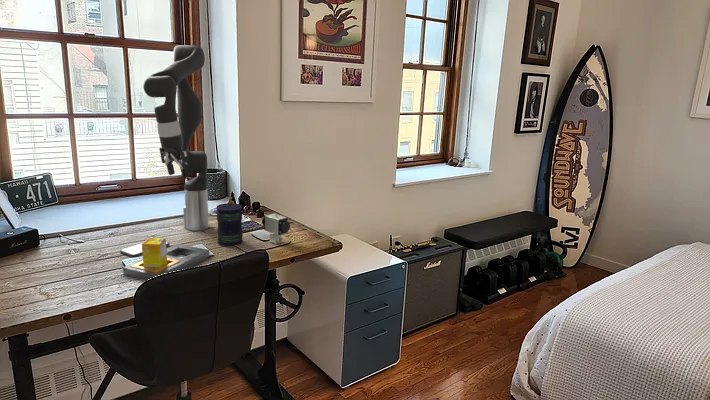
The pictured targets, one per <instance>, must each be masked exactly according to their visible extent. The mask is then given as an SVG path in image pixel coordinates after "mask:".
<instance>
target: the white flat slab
mask: <svg viewBox="0 0 710 400" xmlns="http://www.w3.org/2000/svg"><path fill="white" fill-rule="evenodd" d="M142 243H143V242H141V243H138V244H135V245H132V246H129V247H124V248H122V249H120V250H119V252H120V254H122V255H124V256H127V257H130V258H137V257H140V256H141V257H142V256H143V254H142ZM169 247H170V242H167V241H166V248H169Z"/></svg>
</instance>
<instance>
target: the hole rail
mask: <svg viewBox="0 0 710 400" xmlns="http://www.w3.org/2000/svg"><path fill="white" fill-rule="evenodd" d="M166 250H167V265H165V266H163V267H161V268H159V269H157V270H156V269H152V268H147V267H143V258H142V259H140V260H136V261H135V262H132V263H130V264H128V265H126V266H123V267H122V273H123V275H124V276H127V277H132V278H135V279H140V280H145V281H148V279H150V278H153V277H155V276H158V275H161V274H164V273H169V272H173V271H177V270H182V269H184V270H186V269H188V268H190V267H192V266H193V265H196V264H198V263H199V262H201V261H203V260H205V259H208V258H209V257H210V249H205V248H202V247H196V246H192V245H187V244H186V245H185V244H181V243H176V244H173V245H171V246H169V247H166ZM182 254H183V255H185V256H184V257H182V258H181V257H176V256H178V255H182ZM183 255H182V256H183ZM182 271H183V270H182Z"/></svg>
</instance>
